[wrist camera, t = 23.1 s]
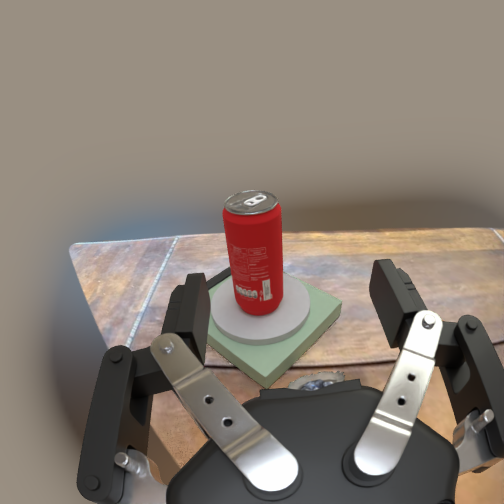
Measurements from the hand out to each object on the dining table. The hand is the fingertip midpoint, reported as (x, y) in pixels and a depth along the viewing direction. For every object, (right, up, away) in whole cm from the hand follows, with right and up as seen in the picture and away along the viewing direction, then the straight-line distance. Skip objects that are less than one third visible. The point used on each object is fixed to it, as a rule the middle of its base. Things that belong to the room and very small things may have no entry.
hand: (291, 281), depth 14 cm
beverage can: (-1, -4, +19) cm, 20 cm away
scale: (-1, -6, +22) cm, 23 cm away
